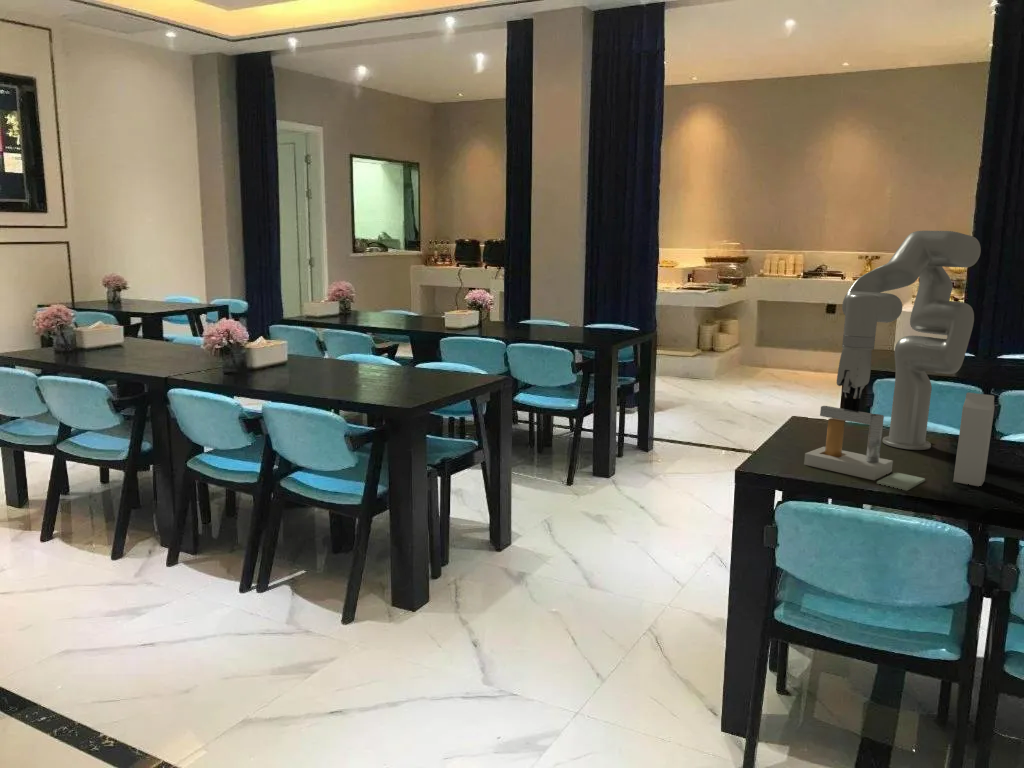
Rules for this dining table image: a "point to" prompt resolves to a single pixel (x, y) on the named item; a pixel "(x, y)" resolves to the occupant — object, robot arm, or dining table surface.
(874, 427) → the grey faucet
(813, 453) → the gray rectangular base
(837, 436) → the tan rectangular bar
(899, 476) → the mat
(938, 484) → the dining table surface
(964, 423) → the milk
